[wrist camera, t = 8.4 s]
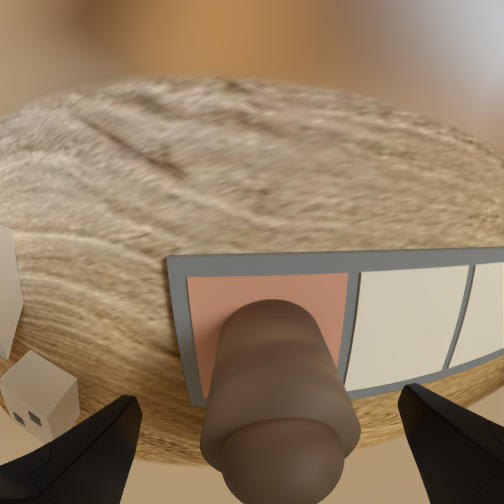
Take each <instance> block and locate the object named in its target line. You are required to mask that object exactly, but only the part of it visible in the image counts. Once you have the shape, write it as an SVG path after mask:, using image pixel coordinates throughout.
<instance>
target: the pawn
mask: <svg viewBox="0 0 504 504" xmlns="http://www.w3.org/2000/svg"><path fill="white" fill-rule="evenodd" d="M360 434H361V428H360V423H359V421H358V418H357V416H356V413H355V411H354V408H353V406H352V404H351V401H350V399H349V396H348V394H347V391H346V389H345V387H344V384H343V382H342V379H341V377H340V375H339V372H338V370H337V368H336V365H335V363H334V361H333V358H332V356H331V354H330V351H329V349H328V347H327V344H326V342H325V340H324V338H323V335H322V333H321V331H320V328H319V326H318V324H317V322H316V320H315V319H314V318H313V316H312V315H311V314H310V313H309V312H308V311H307V310H305V309H304V308H303V307H301V306H299V305H297V304H295V303H292V302H289V301H285V300H279V299H267V300H260V301H255V302H253V303H250V304H247V305H245V306H243V307H241V308H240V309H238V310H237V311H236V312H234V313H233V314H232V315H231V316H230V317H229V318H228V319H227V321H226V322H225V324H224V325H223V328H222V330H221V333H220V336H219V341H218V347H217V352H216V357H215V362H214V367H213V373H212V378H211V383H210V389H209V394H208V400H207V405H206V411H205V416H204V422H203V427H202V433H201V439H200V450H201V453H202V455H203V457H204V458H205V460H206V461H207V462H208V463H209V464H210V465H211V466H212V467H214V468H215V469H216V470H218V471H220V472H221V473H222V475H223V478H224V480H225V483H226V485H227V486H228V488H229V490H230V491H231V492H232V493H233V495H235V497H236V498H237V499H239V500H240V501H241V502H242V503H244V504H317V503H319V502H320V501H322V500H323V499H324V498H325V497H327V496H328V495H329V493H331V492H332V490H333V489H334V488H335V486H336V485H337V483H338V481H339V479H340V477H341V474H342V471H343V467H344V459H345V458H346V457H347V456H348V455H349V454H350V453H351V452H352V451H353V449H354V448H355V447H356V445H357V443H358V441H359V438H360Z"/></svg>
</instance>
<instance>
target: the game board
mask: <svg viewBox="0 0 504 504" xmlns="http://www.w3.org/2000/svg"><path fill="white" fill-rule="evenodd" d="M166 259H167V268H168V277H169V285H170V293H171V300H172V308H173V314H174V321H175V327H176V333H177V339H178V345H179V351H180V356H181V362H182V367H183V372H184V377H185V382H186V386H187V391H188V395H189V400H190V404H191V406H196V407H206V405H207V400H208V394H209V389H210V383H211V378H212V373H213V367H214V362H215V357H216V352H217V347H218V341H219V336H220V333H221V330H222V328H223V325H224V324H225V322H226V321H227V319H228V318H229V317H230V316H231V315H232V314H233V313H234V312H236V311H237V310H238V309H240V308H241V307H243V306H245V305H247V304H250V303H253V302H255V301H260V300H267V299H279V300H285V301H289V302H292V303H295V304H297V305H299V306H301V307H303V308H304V309H305V310H307V311H308V312H309V313H310V314H311V315H312V316H313V318H314V319H315V320H316V322H317V324H318V326H319V328H320V331H321V333H322V335H323V338H324V340H325V342H326V344H327V347H328V349H329V351H330V354H331V356H332V358H333V361H334V363H335V365H336V368H337V370H338V372H339V375H340V377H341V379H342V382H343V384H344V387H345V389H346V391H347V394H348V396H349V399H350V400H351V399H357V398H363V397H368V396H374V395H379V394H384V393H388V392H393V391H397V390H401V389H403V387H404V386H405V385H406V384H410V383H417V384H419V385H421V384H424V383H428V382H431V381H435V380H438V379H441V378H444V377H447V376H450V375H453V374H456V373H459V372H462V371H465V370H467V369H470V368H473V367H475V366H478V365H480V364H483V363H485V362H488V361H490V360H492V359H495V358H497V357H499V356H502V355H504V247H477V248H440V249H402V250H364V251H325V252H284V253H243V254H202V255H169V256H168V257H167V258H166Z"/></svg>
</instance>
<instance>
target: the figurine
mask: <svg viewBox="0 0 504 504" xmlns="http://www.w3.org/2000/svg"><path fill="white" fill-rule="evenodd" d="M23 305H24V301H23V296H22V291H21V286H20V281H19V274H18V268H17V261H16V252H15V243H14V231H13V230H11V229H9V228H7V227H5V226H2V225H0V357H2V358H3V359H5V360H7V361H8V359H9V355H10V351H11V346H12V342H13V338H14V335H15V331H16V327H17V324H18V320H19V317H20V314H21V311H22V308H23Z"/></svg>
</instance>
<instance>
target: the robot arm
mask: <svg viewBox="0 0 504 504" xmlns="http://www.w3.org/2000/svg"><path fill="white" fill-rule="evenodd" d="M398 409H399V413H400V416H401V420H402V423H403V427H404V430H405V434H406V438H407V440H408V443H409V446H410V449H411V451H412V453H413V456H414V459H415V461H416V464H417V467H418V469H419V472H420V475H421V478H422V480H423V483H424V486H425V488H426V492H427V495H428V498H429V501H430V504H504V427H503V426H501V425H498V424H496V423H494V422H492V421H490V420H487V419H486V418H484V417H482V416H480V415H478V414H476V413H474V412H472V411H470V410H468V409H466V408H464V407H462V406H460V405H458V404H456V403H454V402H452V401H450V400H448V399H446V398H444V397H442V396H440V395H438V394H436V393H434V392H432V391H431V390H429V389H427V388H425V387H423V386H421V385H419V384H417V383H410V384H406V385H405V386H404V387H403V389H402V392H401V394H400V397H399V400H398ZM141 421H142V411H141V409H140V406H139V403H138V401H137V398H136V397H135V396H133V395H127V394H124V395H122V396H120V397H119V398H117V399H116V400H114V401H113V402H111V403H110V404H108V405H107V406H105V407H104V408H102V409H101V410H99V411H98V412H96V413H95V414H93V415H92V416H90V417H89V418H87V419H86V420H84V421H82V422H81V423H79V424H78V425H76V426H75V427H73V428H71V429H70V430H68V431H67V432H65V433H63V434H62V435H60V436H59V437H57V438H55V439H54V440H52V442H49V443H47V444H45V445H44V446H42V447H40V448H38V449H36V450H35V451H33V452H31V453H29V454H26V455H24V456H22V457H20V458H17V459H15V460H13V461H10V462H8V463H5V464H3V465H0V504H120V501H121V497H122V494H123V490H124V487H125V484H126V481H127V478H128V474H129V471H130V468H131V465H132V462H133V459H134V455H135V451H136V446H137V441H138V436H139V431H140V426H141Z"/></svg>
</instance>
